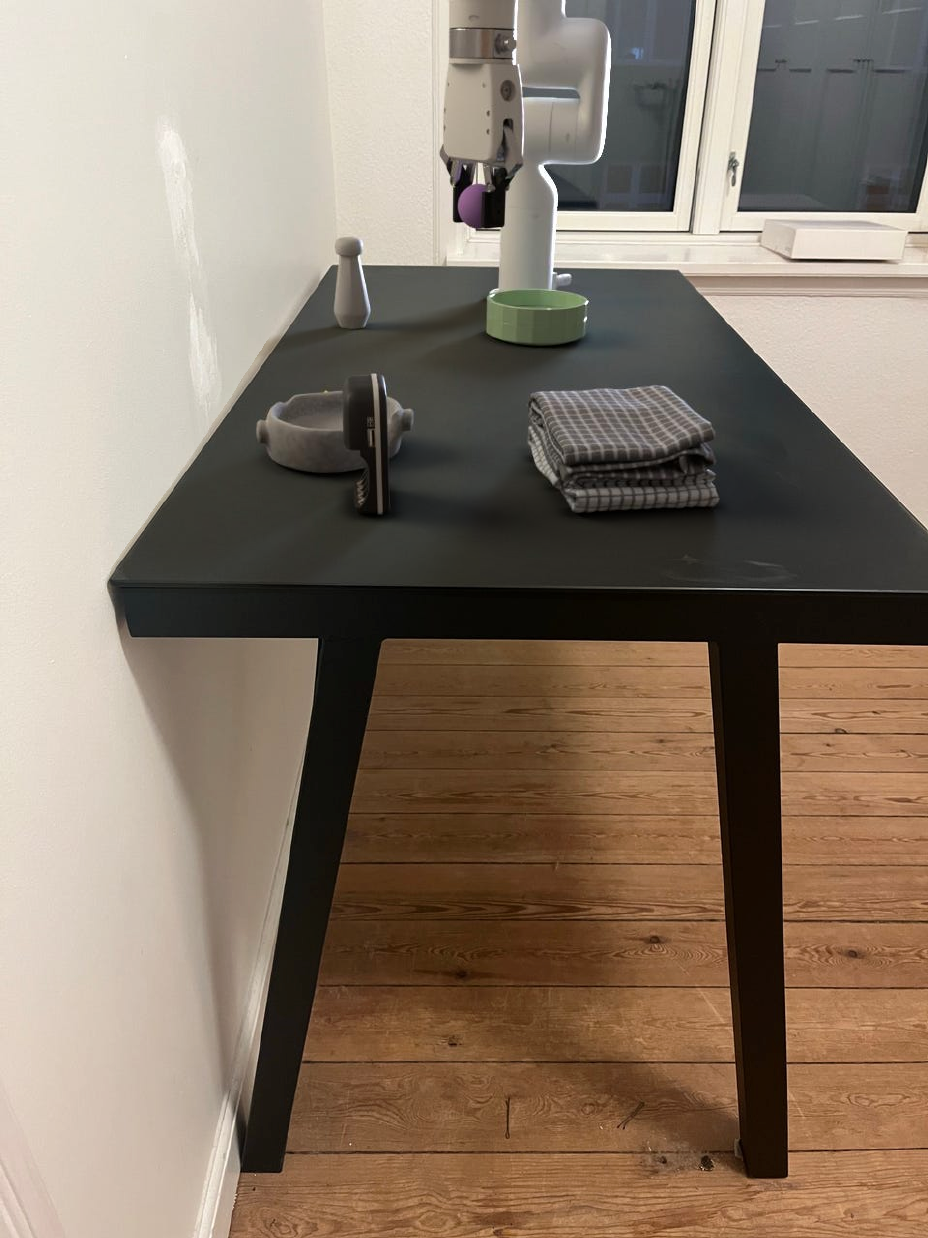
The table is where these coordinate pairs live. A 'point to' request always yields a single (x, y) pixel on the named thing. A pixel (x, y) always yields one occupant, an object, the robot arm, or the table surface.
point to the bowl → (536, 316)
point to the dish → (321, 433)
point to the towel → (622, 448)
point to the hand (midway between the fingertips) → (478, 222)
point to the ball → (471, 205)
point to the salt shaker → (350, 285)
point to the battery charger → (368, 439)
